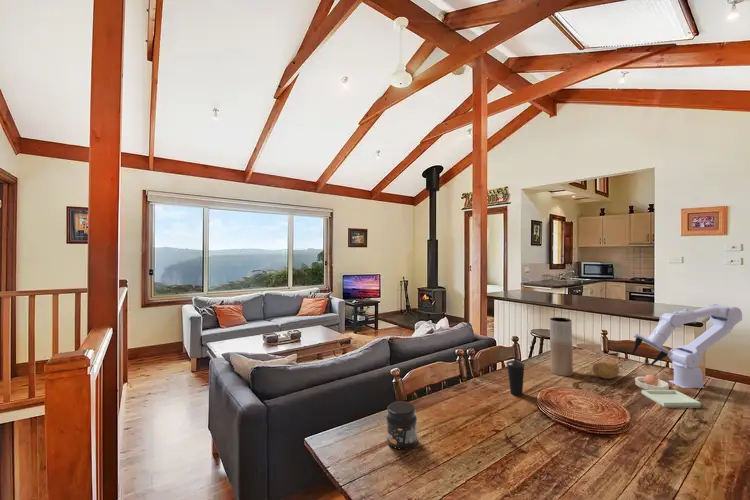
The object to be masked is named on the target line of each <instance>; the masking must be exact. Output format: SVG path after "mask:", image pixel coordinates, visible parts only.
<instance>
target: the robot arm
mask: <svg viewBox="0 0 750 500" xmlns="http://www.w3.org/2000/svg"><path fill="white" fill-rule="evenodd" d="M705 317H709V320H710V321H711V324H712V326H711V327H709V328H708V329H707V330H704V332H703V333H702V334H700V335H699V336H698V337H696V338H695V339H693V340H691V342H689V343H688V344H686V345H678V346H677V347H676V348H672V349H670V350H669V349H667V348H666V347H664V344H665V343H666V341H668V339H669V338H670V336H671V334H672V333H673V332H674V331H675V330H676V328H681V327H683V326H684V324H685V325H686V324H689V323H693V322H697V320H698V319H699V318H705ZM742 320H743V312H742V310H741V308H739V307H736V306H729V305H728V306H727V305H722V304H715V303H714V304H708V306H705V307H702V308H698V309H695V310H692V309H690V308H689V309H688V308H683V309H682V310H680V311H673V312H671V313H670V312H665V313H663V314H660V316H659V321H658V322H657V325H656V327H655V328H654V329H653V330H652V331H651V333H650V335H649V336H648V337H645V336H643V335H641V334H639V333H638V332H637V333H635V335H634V336H633V338H635V342H634V346H633V347H634V348H633V351H632V352H631V354H632V355H634V354H635V353H636V351H637V350H638V348H639V347H640V345H641V344H642V343H644V344H646V345H648V346H649V347H652V348H654V349H655V350H657V351H659V353H658V355H657V356H656V357H655V359H654V360H653V361H652V362H651V363H650V365H651V366H654V364H656V363H657V362H658V361H660V360H663V359H665V358H666V357H668V358H669V360H670V361H671V363H672V365H673V380H671V379H670V380H668V382H670V383H672V384H674V385H676V386H678V387H680V388H682V389H683V388H684V389H690V388H691V389H701V388H702V389H705V386H704V384H703V382H704V381H703V379H704V378H703V370H701V368H700V367H698V366H699V365H700V363H701V362H702V361H704V359H703V358H704V357H703V355H702V354H703V353H704V352H707V350H708V349H710V348H711V347H712V346H714V345H715V344H716V343H717V342H718V341H720V340H721V339H723V338H724V337H725V336H727V335H728V334H730V333H731V331H733V329H734V327H735V326H736V325H738V323H740V322H741V321H742Z"/></svg>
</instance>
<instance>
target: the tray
mask: <svg viewBox="0 0 750 500" xmlns="http://www.w3.org/2000/svg"><path fill="white" fill-rule="evenodd" d="M641 395H643V396H645V397H646V398H648V399H649V400H651V401H653V402H655V403H657V404H658V405H660V406H662V408H665V409H666V408H668V409H670V408H675V409H676V408H677V409H681V408H683V409H687V408H688V409H691V408H692V409H693V408H694V409H697V408H698V409H699V408H701V407H702V404H701V403H702V402H700V401H699V400H696V399H695V398H692V397H690V396H689V395H686V394H685V393H682V392H681V391H679V390H676V389H669V390H647V389H641Z"/></svg>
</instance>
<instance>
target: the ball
mask: <svg viewBox="0 0 750 500" xmlns="http://www.w3.org/2000/svg"><path fill="white" fill-rule="evenodd" d="M644 377H645V378H644V381H645V383H646V384H648V385H653V386H657V385H658V379H659V378H658V377H656V376H655V375H653V374H647V375H646V376H644Z"/></svg>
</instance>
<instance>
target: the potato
mask: <svg viewBox="0 0 750 500" xmlns="http://www.w3.org/2000/svg"><path fill="white" fill-rule="evenodd" d="M592 372H593V373H594V374H595V376H597V377H599V378H602V379H604V380H605V379H606V380H610V379H614V378H616V377H617V376H618V374H619V372H620V368H619V365H618V363H616V362H615V361H611V360H606V361H605V360H604V361H599V362H596V363H594V364H593V366H592Z"/></svg>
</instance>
